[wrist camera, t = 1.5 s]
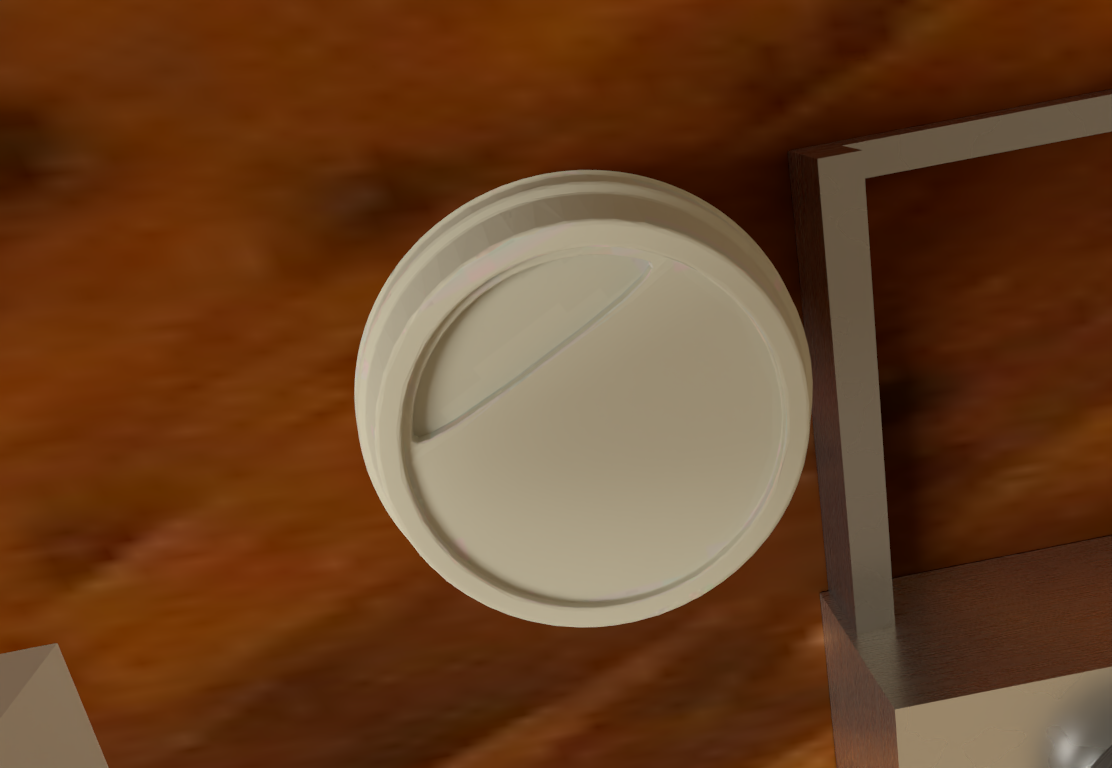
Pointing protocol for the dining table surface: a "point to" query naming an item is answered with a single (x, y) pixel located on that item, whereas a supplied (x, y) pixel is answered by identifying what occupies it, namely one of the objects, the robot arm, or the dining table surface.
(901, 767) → the button box with rail
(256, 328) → the dining table surface
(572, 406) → the coffee cup
